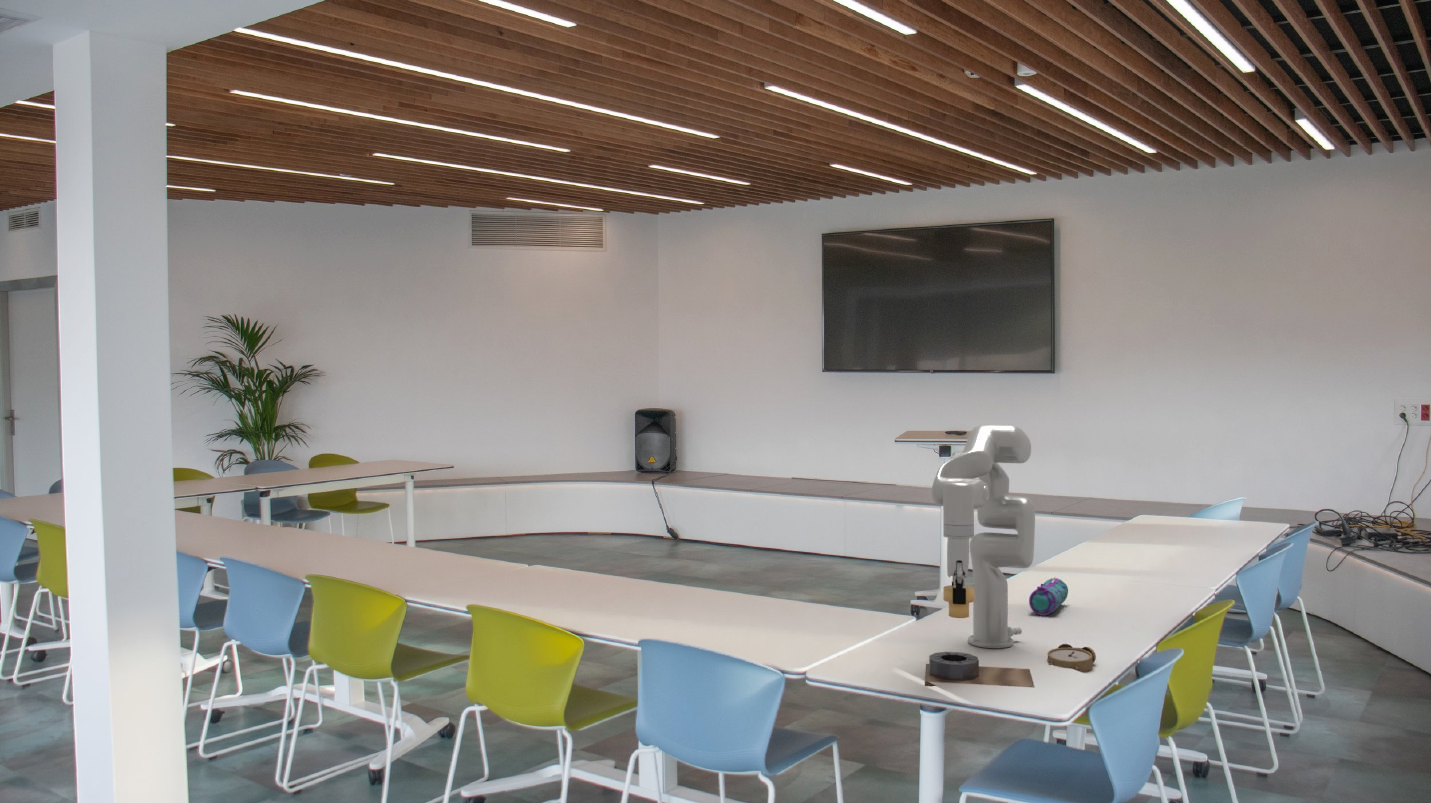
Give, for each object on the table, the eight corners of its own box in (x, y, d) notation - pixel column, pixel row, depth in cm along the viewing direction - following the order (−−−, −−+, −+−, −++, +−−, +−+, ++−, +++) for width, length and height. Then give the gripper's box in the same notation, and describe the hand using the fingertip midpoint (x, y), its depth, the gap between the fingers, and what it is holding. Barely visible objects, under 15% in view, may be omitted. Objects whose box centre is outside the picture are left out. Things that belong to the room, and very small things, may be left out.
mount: (1029, 673, 267) (1029, 668, 267) (1034, 692, 251) (1034, 687, 251) (926, 668, 273) (926, 663, 273) (924, 685, 257) (924, 681, 257)
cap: (962, 611, 268) (962, 584, 267) (980, 617, 261) (980, 589, 260) (937, 614, 265) (937, 586, 264) (955, 620, 258) (955, 592, 257)
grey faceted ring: (959, 664, 271) (959, 649, 271) (988, 677, 260) (988, 661, 260) (920, 670, 267) (920, 654, 266) (947, 682, 255) (947, 666, 255)
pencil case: (1041, 603, 350) (1040, 574, 350) (1068, 605, 346) (1068, 576, 346) (1028, 615, 332) (1027, 585, 331) (1056, 618, 327) (1056, 588, 327)
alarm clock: (1040, 658, 272) (1059, 636, 283) (1042, 675, 273) (1060, 653, 284) (1084, 664, 265) (1101, 642, 277) (1085, 682, 266) (1102, 659, 278)
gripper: (942, 525, 271) (942, 593, 272) (943, 535, 254) (944, 607, 255) (972, 526, 270) (972, 594, 270) (975, 536, 253) (975, 608, 253)
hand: (958, 600), depth 263 cm, fingers closed on cap, 7 cm apart
